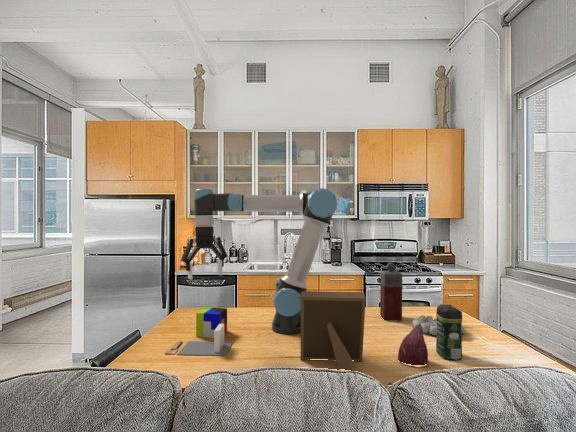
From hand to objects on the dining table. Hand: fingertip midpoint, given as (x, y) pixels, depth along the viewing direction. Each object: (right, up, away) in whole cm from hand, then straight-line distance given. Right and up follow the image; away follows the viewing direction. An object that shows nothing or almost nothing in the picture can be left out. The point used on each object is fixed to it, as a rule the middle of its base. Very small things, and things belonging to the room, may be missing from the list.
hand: (205, 276), depth 155 cm
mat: (+3, -26, -12) cm, 28 cm away
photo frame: (+50, -26, -27) cm, 62 cm away
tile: (+8, -25, -12) cm, 29 cm away
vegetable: (+79, -27, -23) cm, 86 cm away
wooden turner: (-9, -26, -12) cm, 30 cm away
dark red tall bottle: (+86, -26, +33) cm, 96 cm away
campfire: (+102, -27, +11) cm, 106 cm away
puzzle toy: (+2, -26, +6) cm, 26 cm away
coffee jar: (+94, -27, -18) cm, 99 cm away
